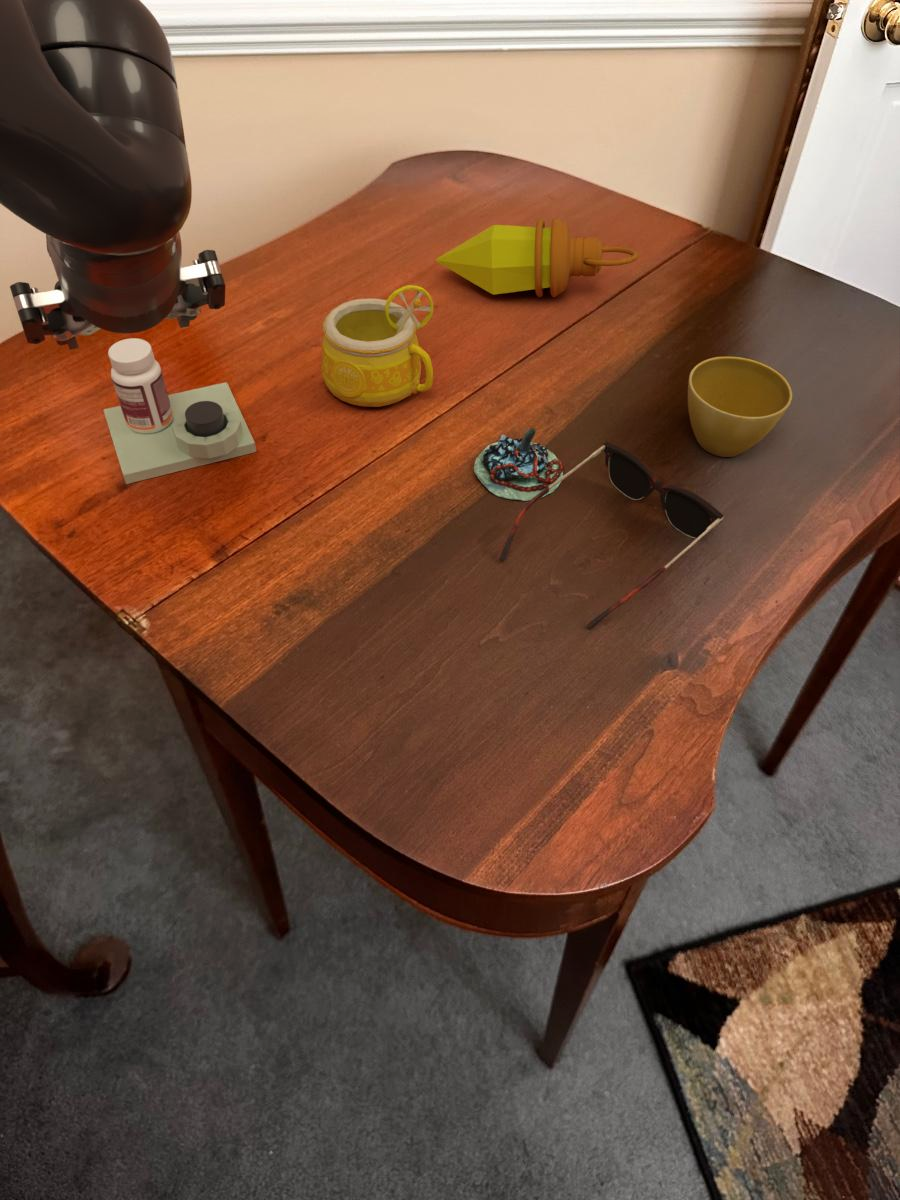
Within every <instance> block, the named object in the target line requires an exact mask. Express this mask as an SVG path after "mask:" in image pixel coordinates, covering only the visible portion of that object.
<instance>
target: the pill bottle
mask: <svg viewBox="0 0 900 1200" xmlns="http://www.w3.org/2000/svg"><path fill="white" fill-rule="evenodd" d="M107 356H108V357H109V361H110V365H111V369H110V377H111V381H112V383H113V387H114V391H115V393H116V396H117V399H118V402H119V403H118V404H119V406H121V409H122V412H123V415H124V418H125V421H126V424H127V426H128V427H129V428H130V429H131V430H132V431H134V432H137V433H142V434H150V433H155V432H159V431H161V430H163V429H165V428H166V427H168V426H169V425H170V423H171V422H172V420H173V412H172V408H171V404H170V401H169V397H168V395H169V394H168V390H167V386H166V382H165V379H164V375H163V370H162V367H161V365H160V363H159V362H158V361H157V359H155V355H154V352H153V348H152V345H151V344H150V342H148V341H147V340H145V339H142V338H138V337H137V338H136V337H135V338H134V337H132V338H125V339H122V340H118V341H117V342H115V343H113V344H112V345H111V346H110V347H109V349H108V351H107Z"/></svg>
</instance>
